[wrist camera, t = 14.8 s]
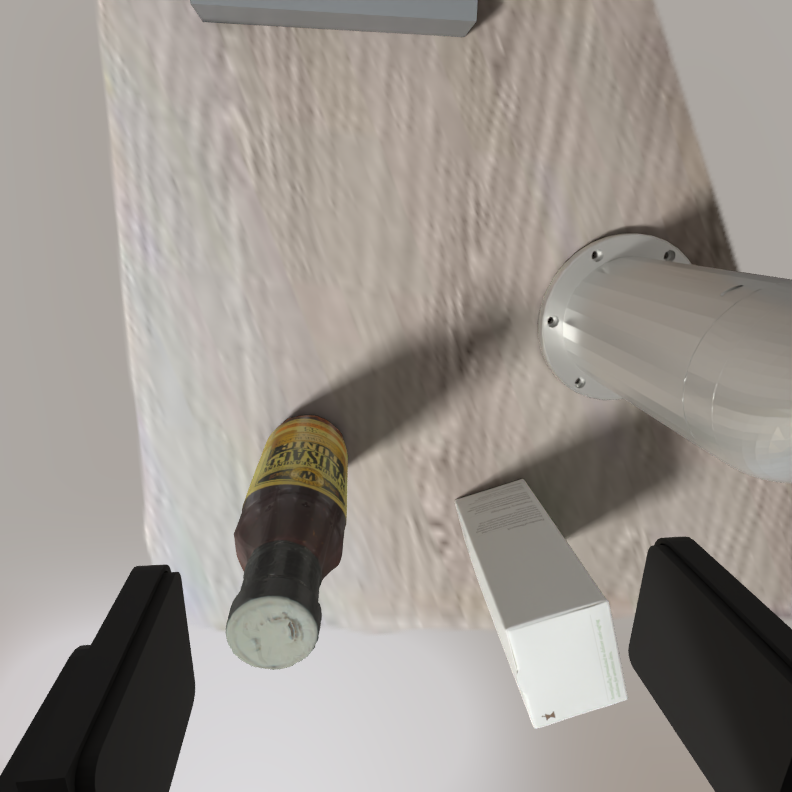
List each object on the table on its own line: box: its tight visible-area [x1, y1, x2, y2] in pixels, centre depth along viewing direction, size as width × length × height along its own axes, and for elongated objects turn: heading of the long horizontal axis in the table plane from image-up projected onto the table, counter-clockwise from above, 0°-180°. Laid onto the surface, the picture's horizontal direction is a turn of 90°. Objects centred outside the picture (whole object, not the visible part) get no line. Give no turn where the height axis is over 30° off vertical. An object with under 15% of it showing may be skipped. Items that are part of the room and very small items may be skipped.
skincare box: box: [455, 479, 628, 729], centre depth 39 cm, size 8×7×16 cm
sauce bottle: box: [226, 415, 348, 670], centre depth 33 cm, size 7×6×20 cm
